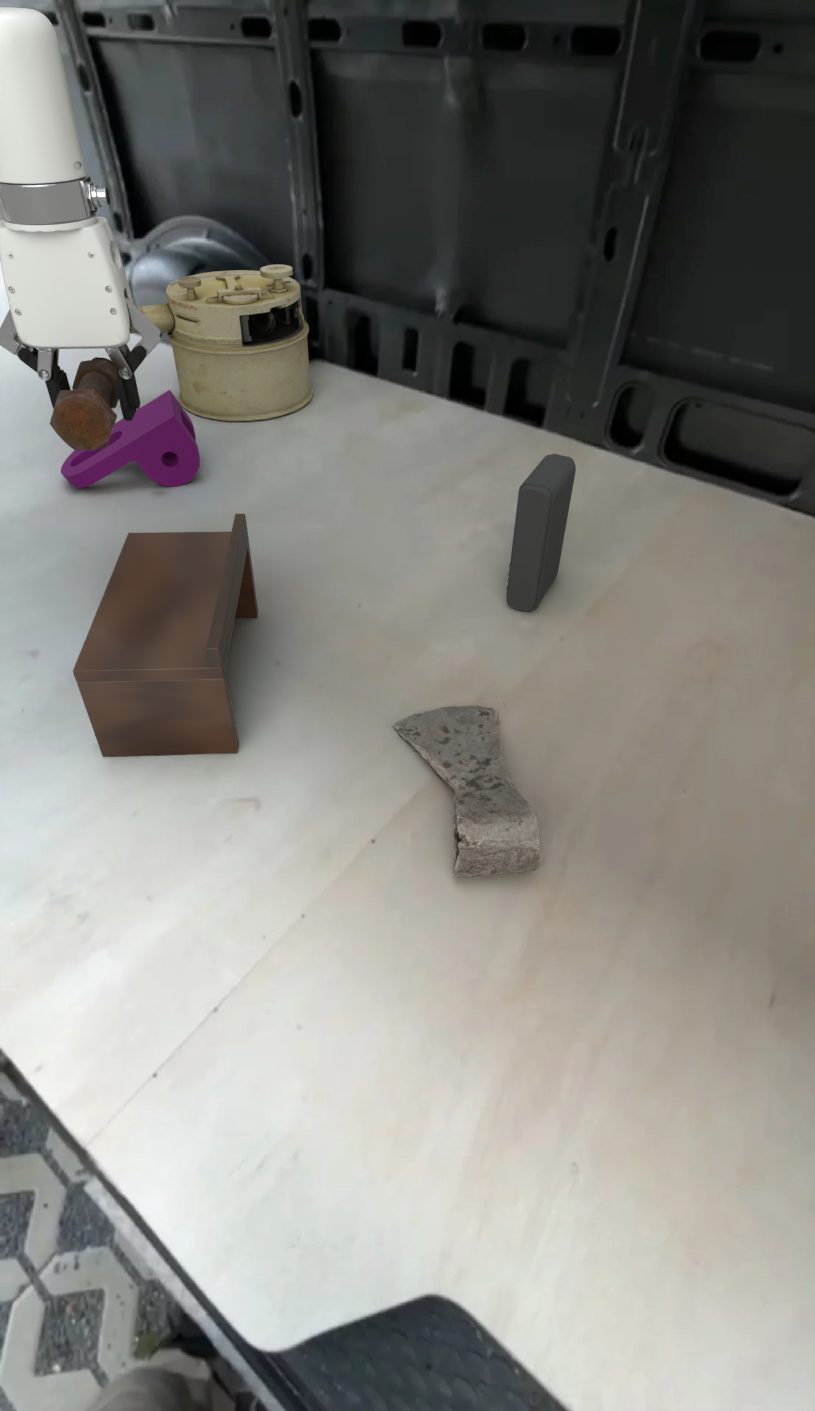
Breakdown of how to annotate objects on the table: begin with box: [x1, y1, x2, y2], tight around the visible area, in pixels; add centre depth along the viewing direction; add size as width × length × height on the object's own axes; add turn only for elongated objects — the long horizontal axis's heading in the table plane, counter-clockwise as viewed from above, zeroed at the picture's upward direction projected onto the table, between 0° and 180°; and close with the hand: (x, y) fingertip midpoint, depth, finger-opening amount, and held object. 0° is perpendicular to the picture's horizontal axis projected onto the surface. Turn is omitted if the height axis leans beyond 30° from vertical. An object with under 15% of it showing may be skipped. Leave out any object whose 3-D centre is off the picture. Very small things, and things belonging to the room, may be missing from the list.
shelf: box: [72, 513, 259, 758], centre depth 75 cm, size 12×22×12 cm, turn 3°
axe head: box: [393, 705, 541, 878], centre depth 68 cm, size 21×5×10 cm
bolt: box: [49, 356, 119, 451], centre depth 77 cm, size 6×5×15 cm
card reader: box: [505, 453, 577, 612], centre depth 86 cm, size 9×4×15 cm, turn 154°
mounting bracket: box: [60, 389, 201, 489], centre depth 110 cm, size 9×8×18 cm
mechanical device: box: [130, 263, 314, 422], centre depth 125 cm, size 22×34×20 cm, turn 109°
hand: (99, 414), depth 78 cm, fingers closed on bolt, 5 cm apart
